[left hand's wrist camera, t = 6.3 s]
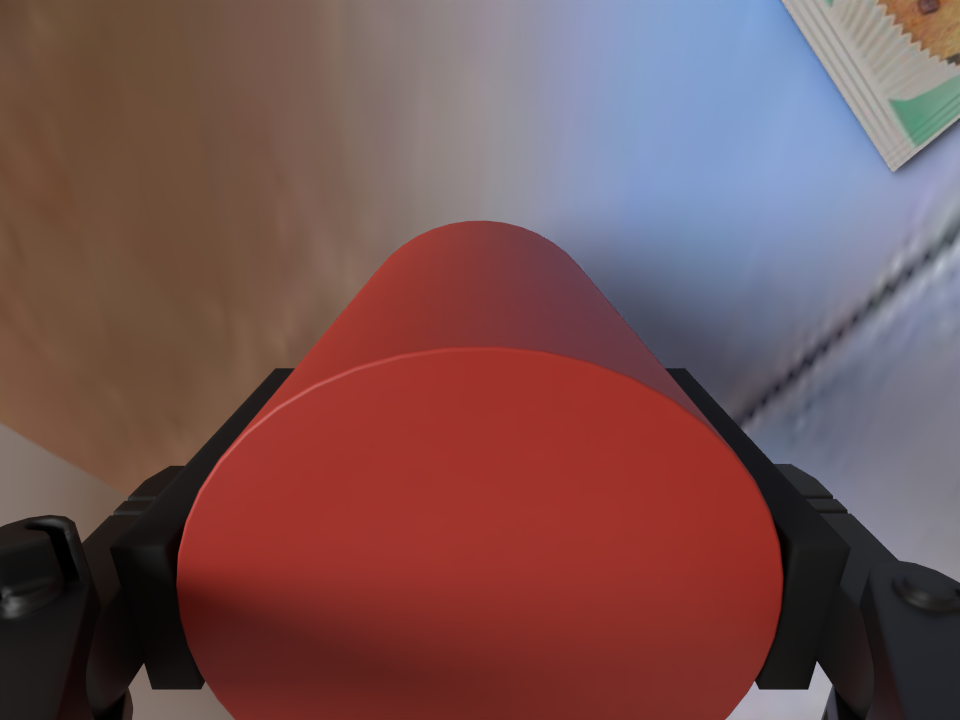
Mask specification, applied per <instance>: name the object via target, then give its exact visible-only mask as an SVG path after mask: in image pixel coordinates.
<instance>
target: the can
mask: <svg viewBox="0 0 960 720" xmlns="http://www.w3.org/2000/svg"><path fill="white" fill-rule="evenodd" d="M783 580H784V576H783V567H782V558H781V549H780V542H779V539H778V535H777V532H776V529H775V525H774V522H773V518H772V515H771V512H770V510H769V508H768V506H767V504H766V502H765V500H764V497H763V495H762V493H761V491H760V489H759V487H758V485H757V483H756V481H755V480H754V478H753V477H752V475H751V474H750V473H749V471H748V470H747V469H746V467H745V466H744V464H743V463H742V462H741V460H740V459H739V458H738V456H737V455H736V453H735V452H734V451H733V449H732V448H731V447H730V446H729V445H728V443H727V442H726V441H725V440H724V439H723V437H722V436H721V435H720V434H719V433H718V431H717V430H716V429H715V428H714V427H713V425H712V424H711V423H710V422H709V421H708V420H707V418H706V417H705V416H704V415H703V414H702V412H701V411H700V410H699V409H698V408H697V406H696V405H695V404H694V403H693V402H692V400H691V399H690V398H689V397H688V396H687V394H686V393H685V392H684V391H683V390H682V388H681V387H680V386H679V385H678V384H677V382H676V381H675V380H674V379H673V378H672V376H671V375H670V374H669V373H668V372H667V371H666V369H665V368H664V367H663V366H662V365H661V363H660V362H659V361H658V360H657V359H656V357H655V356H654V355H653V354H652V353H651V351H650V350H649V349H648V348H647V347H646V345H645V344H644V343H643V342H642V341H641V339H640V338H639V337H638V336H637V335H636V333H635V332H634V331H633V330H632V329H631V327H630V326H629V325H628V324H627V323H626V322H625V320H624V319H623V318H622V317H621V316H620V314H619V313H618V312H617V311H616V310H615V308H614V307H613V306H612V305H611V304H610V302H609V301H608V300H607V299H606V298H605V296H604V295H603V294H602V293H601V292H600V290H599V289H598V288H597V287H596V286H595V284H594V283H593V282H592V281H591V280H590V278H589V277H588V276H587V275H586V274H585V272H584V271H583V270H582V269H581V268H580V267H579V265H578V264H577V263H576V262H575V261H574V260H573V259H572V258H571V257H570V256H569V255H568V254H567V253H566V252H565V251H563V250H562V249H561V248H559V247H558V246H557V245H555V244H554V243H553V242H551V241H549V240H548V239H546V238H544V237H542V236H541V235H539V234H537V233H534V232H532V231H529V230H527V229H525V228H522V227H519V226H515V225H511V224H507V223H501V222H492V221H466V222H460V223H453V224H449V225H445V226H442V227H439V228H435V229H433V230H430V231H428V232H426V233H424V234H421V235H419V236H417V237H416V238H414V239H412V240H411V241H409V242H408V243H406V244H404V245H403V246H402V247H401V248H399V249H398V250H397V251H396V252H395V253H393V254H392V255H391V256H390V257H389V258H388V259H387V260H386V261H385V262H384V264H383V265H382V266H381V267H380V268H379V269H378V270H377V271H376V273H375V274H374V275H373V276H372V277H371V279H370V280H369V281H368V282H367V283H366V285H365V286H364V287H363V288H362V289H361V291H360V292H359V293H358V294H357V295H356V297H355V298H354V299H353V300H352V301H351V303H350V304H349V305H348V306H347V307H346V309H345V310H344V311H343V312H342V313H341V314H340V316H339V317H338V318H337V319H336V320H335V322H334V323H333V324H332V325H331V326H330V328H329V329H328V330H327V331H326V332H325V334H324V335H323V336H322V337H321V338H320V340H319V341H318V342H317V343H316V344H315V346H314V347H313V348H312V349H311V350H310V352H309V353H308V354H307V355H306V356H305V358H304V359H303V360H302V361H301V362H300V363H299V365H298V366H297V367H296V368H295V369H294V371H293V372H292V373H291V374H290V375H289V377H288V378H287V379H286V380H285V381H284V383H283V384H282V385H281V386H280V387H279V389H278V390H277V391H276V392H275V393H274V395H273V396H272V397H271V398H270V399H269V401H268V402H267V403H266V404H265V405H264V407H263V408H262V409H261V410H260V411H259V412H258V414H257V415H256V416H255V417H254V418H253V420H252V421H251V422H250V423H249V424H248V426H247V427H246V428H245V429H244V430H243V432H242V433H241V434H240V435H239V436H238V438H237V439H236V440H235V441H234V442H233V444H232V445H231V446H230V447H229V448H228V450H227V451H226V452H225V453H224V454H223V456H222V457H221V458H220V459H219V461H218V462H217V464H216V465H215V467H214V468H213V470H212V471H211V473H210V474H209V476H208V477H207V479H206V481H205V482H204V484H203V485H202V487H201V488H200V490H199V492H198V494H197V497H196V499H195V501H194V504H193V506H192V508H191V511H190V513H189V515H188V518H187V520H186V523H185V527H184V532H183V536H182V540H181V544H180V548H179V553H178V566H177V583H176V588H177V597H178V606H179V615H180V620H181V623H182V627H183V630H184V634H185V637H186V641H187V644H188V647H189V649H190V652H191V654H192V656H193V658H194V660H195V662H196V664H197V667H198V669H199V671H200V673H201V675H202V676H203V678H204V679H205V681H206V682H207V684H208V686H209V687H210V689H211V690H212V692H213V693H214V695H215V696H216V698H217V699H218V701H219V702H220V703H221V704H222V705H223V706H224V707H225V709H226V710H227V711H228V712H229V713H230V714H231V716H232V717H233V718H234V719H235V720H725V719H726V718H727V717H728V716H729V715H730V714H731V713H732V711H733V710H734V709H735V707H736V706H737V705H738V704H739V702H740V701H741V700H742V699H743V697H744V696H745V695H746V694H747V692H748V691H749V689H750V688H751V686H752V684H753V682H754V681H755V679H756V677H757V676H758V674H759V672H760V671H761V669H762V667H763V666H764V663H765V661H766V658H767V656H768V653H769V651H770V648H771V646H772V644H773V641H774V639H775V635H776V631H777V626H778V622H779V618H780V614H781V609H782V596H783Z"/></svg>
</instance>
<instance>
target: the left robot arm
mask: <svg viewBox="0 0 960 720" xmlns="http://www.w3.org/2000/svg"><path fill="white" fill-rule="evenodd" d="M294 369H295V368H275V370H274V371H273V372H272V373H271V374H270V375H269V376H268V377H267V378H266V379H265V380H264V381H263V383H262V384H261V385H260V386H259V387H258V388H257V389H256V390H255V391H254V392H253V393H252V394H251V395H250V397H249V398H248V399H247V400H246V401H245V402H244V403H243V404H242V405H241V406H240V407H239V408H238V409H237V411H236V412H235V413H234V414H233V415H232V416H231V417H230V418H229V419H228V420H227V421H226V422H225V424H224V425H223V426H222V427H221V428H220V429H219V430H218V431H217V432H216V433H215V434H214V435H213V436H212V438H211V439H210V440H209V441H208V442H207V443H206V444H205V445H204V446H203V447H202V448H201V449H200V451H199V452H198V453H197V454H196V455H195V456H194V457H193V458H192V459H191V460H190V461H189V462H188V463H187V465H186V466H169V467H167V468H166V469H164V470H162V471H161V472H159V473H157V474H156V475H154V476H152V477H150V478H149V479H147V480H145V481H144V482H143V483H142V484H141V485H140V486H139V487H138V488H137V489H136V490H135V491H134V492H133V493H132V494H131V495H130V496H129V497H128V501H124V502H123V503H122V504H121V505H120V506H119V507H118V508H117V509H116V510H115V511H114V514H113V516H109V517H108V518H107V519H106V520H105V521H104V522H103V523H102V524H101V525H100V526H99V527H98V528H97V529H96V530H95V531H94V532H93V533H92V534H91V535H90V536H89V537H88V538H87V539H86V540H85V541H84V542H83V543H81V540H80V537H79V534H78V531H77V528H76V525H75V522H73V521H72V520H70V519H69V518H67V517H65V516H55V515H46V516H39V517H32V518H27V519H23V520H20V521H17V522H13V523H10V524H7V525H4V526H2V527H0V720H132V715H133V704H132V699H131V694H130V691H129V688H128V686H129V685H130V683H131V682H132V680H133V679H134V677H135V676H136V674H137V673H138V671H139V669H140V668H141V666H142V665H143V663H144V664H145V667H146V670H147V674H148V677H149V680H150V684H151V687H152V689H201V688H202V686H203V685H204V683H205V679H204V678H203V676H202V675H201V673H200V671H199V669H198V667H197V664H196V662H195V660H194V658H193V656H192V654H191V652H190V649H189V647H188V644H187V641H186V637H185V634H184V630H183V627H182V623H181V620H180V615H179V606H178V597H177V588H176V583H177V566H178V553H179V548H180V544H181V540H182V536H183V532H184V527H185V523H186V520H187V518H188V515H189V513H190V511H191V508H192V506H193V504H194V501H195V499H196V497H197V494H198V492H199V490H200V488H201V487H202V485H203V484H204V482H205V481H206V479H207V477H208V476H209V474H210V473H211V471H212V470H213V468H214V467H215V465H216V464H217V462H218V461H219V459H220V458H221V457H222V456H223V454H224V453H225V452H226V451H227V450H228V448H229V447H230V446H231V445H232V444H233V442H234V441H235V440H236V439H237V438H238V436H239V435H240V434H241V433H242V432H243V430H244V429H245V428H246V427H247V426H248V424H249V423H250V422H251V421H252V420H253V418H254V417H255V416H256V415H257V414H258V412H259V411H260V410H261V409H262V408H263V407H264V405H265V404H266V403H267V402H268V401H269V399H270V398H271V397H272V396H273V395H274V393H275V392H276V391H277V390H278V389H279V387H280V386H281V385H282V384H283V383H284V381H285V380H286V379H287V378H288V377H289V375H290V374H291V373H292V372H293V371H294ZM665 369H666V371H667V372H668V373H669V374H670V375H671V376H672V378H673V379H674V380H675V381H676V382H677V384H678V385H679V386H680V387H681V388H682V390H683V391H684V392H685V393H686V394H687V396H688V397H689V398H690V399H691V400H692V402H693V403H694V404H695V405H696V406H697V408H698V409H699V410H700V411H701V412H702V414H703V415H704V416H705V417H706V418H707V420H708V421H709V422H710V423H711V424H712V425H713V427H714V428H715V429H716V430H717V431H718V433H719V434H720V435H721V436H722V437H723V439H724V440H725V441H726V442H727V443H728V445H729V446H730V447H731V448H732V449H733V451H734V452H735V453H736V455H737V456H738V458H739V459H740V460H741V462H742V463H743V464H744V466H745V467H746V469H747V470H748V471H749V473H750V474H751V475H752V477H753V478H754V480H755V481H756V483H757V485H758V487H759V489H760V491H761V493H762V495H763V497H764V500H765V502H766V504H767V506H768V508H769V510H770V512H771V515H772V518H773V522H774V525H775V529H776V532H777V535H778V539H779V542H780V549H781V558H782V567H783V576H784V580H783V596H782V609H781V614H780V618H779V622H778V626H777V631H776V635H775V639H774V641H773V644H772V646H771V648H770V651H769V653H768V656H767V658H766V661H765V663H764V666H763V667H762V669H761V671H760V672H759V674H758V676H757V677H756V679H755V682H756V684H757V686H758V688H759V689H769V690H808V688H809V685H810V682H811V678H812V675H813V672H814V668H815V665H816V662H817V661H818V663H819V664H820V666H821V668H822V669H823V671H824V672H825V674H826V675H827V677H828V678H829V680H830V681H831V683H832V684H833V685H832V688H831V691H830V694H829V698H828V701H827V704H826V707H825V710H824V713H823V716H822V719H821V720H960V583H959V582H957V581H955V580H953V579H951V578H950V577H948V576H946V575H944V574H942V573H940V572H938V571H936V570H933V569H930V568H927V567H924V566H921V565H918V564H916V563H910V562H903V561H899V560H898V559H897V558H896V557H895V556H893V555H892V554H891V553H890V552H889V551H888V550H887V549H886V548H885V547H884V546H883V545H882V544H881V543H880V542H879V541H878V540H877V539H876V538H875V537H874V536H873V535H872V534H871V533H870V532H869V531H868V530H867V529H866V528H865V527H864V526H863V525H862V524H861V523H860V522H859V521H858V520H857V519H856V518H855V517H854V516H853V515H852V514H848V512H847V509H846V508H845V507H844V506H843V505H842V504H841V503H840V502H839V501H838V500H837V499H833V495H832V494H831V493H830V492H829V491H828V490H827V489H826V488H825V487H824V486H823V485H822V484H821V483H820V482H819V481H818V480H816V479H815V478H814V477H812V476H810V475H808V474H807V473H805V472H803V471H802V470H800V469H798V468H796V467H795V466H793V465H791V464H773V463H772V462H771V461H770V460H769V459H768V458H767V457H766V455H765V454H764V453H763V452H762V451H761V450H760V449H759V448H758V447H757V446H756V445H755V444H754V443H753V441H752V440H751V439H750V438H749V437H748V436H747V435H746V434H745V433H744V432H743V431H742V430H741V429H740V427H739V426H738V425H737V424H736V423H735V422H734V421H733V420H732V419H731V418H730V417H729V416H728V414H727V413H726V412H725V411H724V410H723V409H722V408H721V407H720V406H719V405H718V404H717V403H716V402H715V400H714V399H713V398H712V397H711V396H710V395H709V394H708V393H707V392H706V391H705V390H704V389H703V387H702V386H701V385H700V384H699V383H698V382H697V381H696V380H695V379H694V378H693V377H692V376H691V375H690V373H689V372H688V371H687V370H686V369H685V368H665Z"/></svg>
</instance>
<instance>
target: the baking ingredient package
mask: <svg viewBox="0 0 960 720" xmlns="http://www.w3.org/2000/svg"><path fill="white" fill-rule="evenodd" d="M782 2H783V4H784V5H785V7H786V8H787V10H788V12H789V13H790V15H791V16H792V18H793V19H794V21H795V23H796V24H797V26H798V27H799V29H800V30H801V32H802V34H803V35H804V37H805V38H806V40H807V41H808V43H809V45H810V46H811V48H812V49H813V51H814V52H815V54H816V55H817V57H818V59H819V60H820V62H821V63H822V65H823V66H824V68H825V69H826V71H827V73H828V74H829V76H830V77H831V79H832V80H833V82H834V83H835V85H836V87H837V88H838V90H839V91H840V93H841V94H842V96H843V97H844V99H845V101H846V102H847V104H848V105H849V107H850V108H851V110H852V111H853V113H854V115H855V116H856V118H857V119H858V121H859V122H860V124H861V125H862V127H863V128H864V130H865V132H866V133H867V135H868V136H869V138H870V139H871V141H872V142H873V144H874V145H875V147H876V149H877V150H878V151H879V153H880V154H881V156H882V157H883V159H884V160H885V162H886V164H887V165H888V167H889V168H890V170H891V171H892V172H894V171H895V170H897V169H898V168H899V167H900V166H901V165H903V164H904V163H905V162H906V161H908V160H909V159H910V158H911V157H912V156H914V155H915V154H916V153H917V152H919V151H920V150H921V149H923V148H924V147H925V146H926V145H928V144H929V143H930V142H931V141H932V140H934V139H935V138H936V137H937V136H939V135H940V134H941V133H942V132H944V131H945V130H946V129H947V128H948V127H950V126H951V125H952V124H953V123H955V122H956V121H957V120H958V119H959V118H960V0H782Z"/></svg>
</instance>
